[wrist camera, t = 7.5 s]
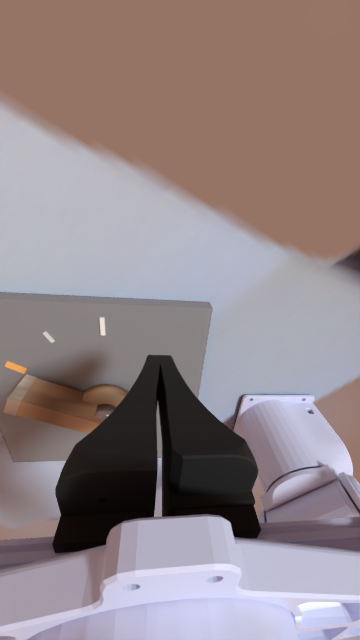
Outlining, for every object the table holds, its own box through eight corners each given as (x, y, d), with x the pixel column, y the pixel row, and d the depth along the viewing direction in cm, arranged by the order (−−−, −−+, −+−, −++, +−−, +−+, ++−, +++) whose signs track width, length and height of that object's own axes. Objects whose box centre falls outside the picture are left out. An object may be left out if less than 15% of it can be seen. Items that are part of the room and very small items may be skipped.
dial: (144, 395, 25) (142, 419, 22) (122, 429, 27) (118, 456, 25) (32, 357, 22) (13, 381, 19) (17, 400, 24) (-2, 427, 21)
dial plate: (209, 302, 23) (212, 309, 21) (187, 446, 33) (188, 458, 31) (-37, 290, 20) (-53, 297, 19) (19, 450, 30) (12, 463, 29)
